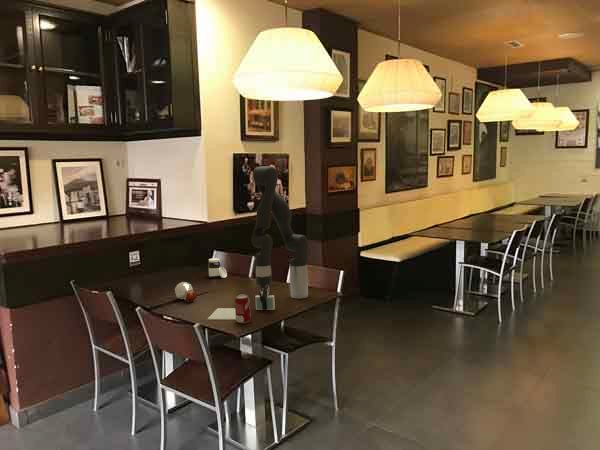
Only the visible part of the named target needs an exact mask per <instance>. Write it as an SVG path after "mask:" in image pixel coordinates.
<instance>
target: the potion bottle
mask: <svg viewBox="0 0 600 450" xmlns="http://www.w3.org/2000/svg"><path fill="white" fill-rule="evenodd" d="M174 293H175V295H176V298H178V299H180V300H183V299H184V300H183V301H186V302H188V303H190V304H192V303H193V302H194V301H195V300H196V299H197V295H196V292H195V290H194V289H193V286H192V284H191V283H189V282H186V281H181V282H180V283H178V284H176V286H175V288H174Z"/></svg>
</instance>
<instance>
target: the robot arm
mask: <svg viewBox="0 0 600 450" xmlns="http://www.w3.org/2000/svg"><path fill="white" fill-rule="evenodd" d="M252 178H253V181H254V183H255V185H256V186H257V188H258V190H259V191H260V193H261V195H262V196H263V197H262V198H261V201H260V202H259V205H258V206H257V210H256V213H255V214H256V216H255V218H256V219H255V225H254V228H253V232H252V235H251V244H252V246H253V247H254V248H257V249H260V252H258V253H257V254H256V255H255V280H256V281H255V283H256V285H257V286H260V288H259V292H258V296H260V301H261V302H262V309H263V311H265V310H266V309H267V297H268V296H270V285H271V284H272V283H273V282H272V280H273V279H272V266H271V265H272V264H271V253H272V250H273V243H274V242H273V238H272V236H271V235H270V234H268V233H267V234H266V233H265V231H266V230H268V229H270V227H271V219H272V217H273V219H274V222H275V224H276V225H277V227H278V229H279V232H280V235H281V237H282V240H283V242H284V245H285V248H286V249H287V250H288V251H290V252H292V253H293V252H295V257H292V258H290V259H289V260H288V261H289V280H290V282H289V284H290V286H289V288H290V297H291V298H292V299H299V300H300V299H305V298H308V297H309V287H308V286H309V284H308V283H309V282H308V281H309V280H308V260H309V240H308V238H307V236H306V235H303V234H296V233H295V232H294V231H293V229H292V227H291V226H292V225H291V222H292V211H291V209H290V206H289V204H288V202H287V201H286V200H285V198H283V196H281V195H280V194H279V193H278V192H277V191H276V189H277V185H278V178H279V174H278V171H277V169H276V168H275V167H274V166H266V165H265V166H257V167H255V168H254V169H253V172H252ZM263 299H264V300H263ZM266 311H267V310H266Z"/></svg>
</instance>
